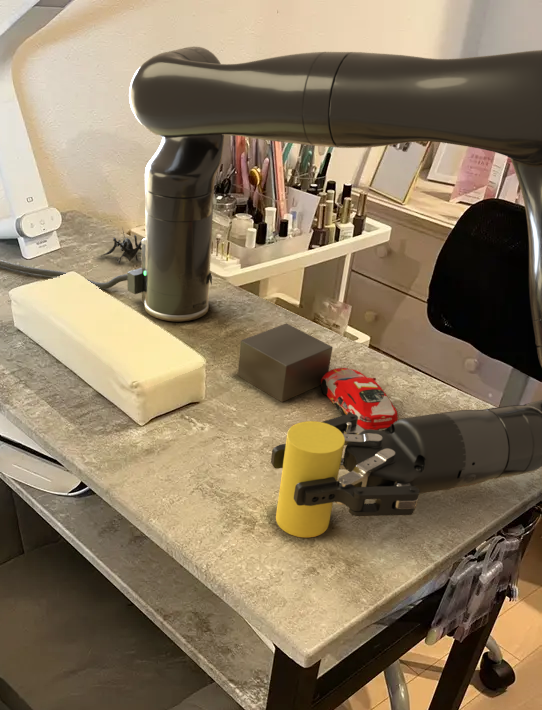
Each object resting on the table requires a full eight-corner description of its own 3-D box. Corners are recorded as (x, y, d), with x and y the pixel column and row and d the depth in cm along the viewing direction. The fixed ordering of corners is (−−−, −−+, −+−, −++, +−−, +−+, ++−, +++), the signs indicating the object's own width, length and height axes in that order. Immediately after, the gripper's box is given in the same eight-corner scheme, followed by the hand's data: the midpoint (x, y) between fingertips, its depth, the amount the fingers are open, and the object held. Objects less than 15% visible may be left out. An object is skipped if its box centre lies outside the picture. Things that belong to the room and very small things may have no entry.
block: (237, 375, 98) (240, 340, 95) (282, 357, 102) (286, 323, 99) (281, 402, 93) (286, 365, 90) (327, 382, 97) (333, 346, 94)
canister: (264, 516, 76) (275, 433, 70) (301, 497, 79) (314, 414, 73) (302, 545, 73) (317, 460, 67) (339, 523, 76) (357, 439, 69)
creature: (96, 260, 129) (110, 267, 123) (93, 227, 127) (107, 232, 120) (140, 254, 132) (156, 261, 125) (138, 221, 129) (154, 226, 123)
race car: (314, 384, 97) (318, 355, 94) (354, 380, 98) (359, 352, 95) (356, 442, 87) (362, 412, 84) (400, 437, 88) (408, 407, 85)
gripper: (416, 381, 78) (260, 402, 75) (499, 461, 67) (321, 490, 64) (401, 441, 83) (253, 464, 79) (476, 526, 72) (309, 556, 69)
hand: (284, 475), depth 72 cm, fingers closed on canister, 5 cm apart
